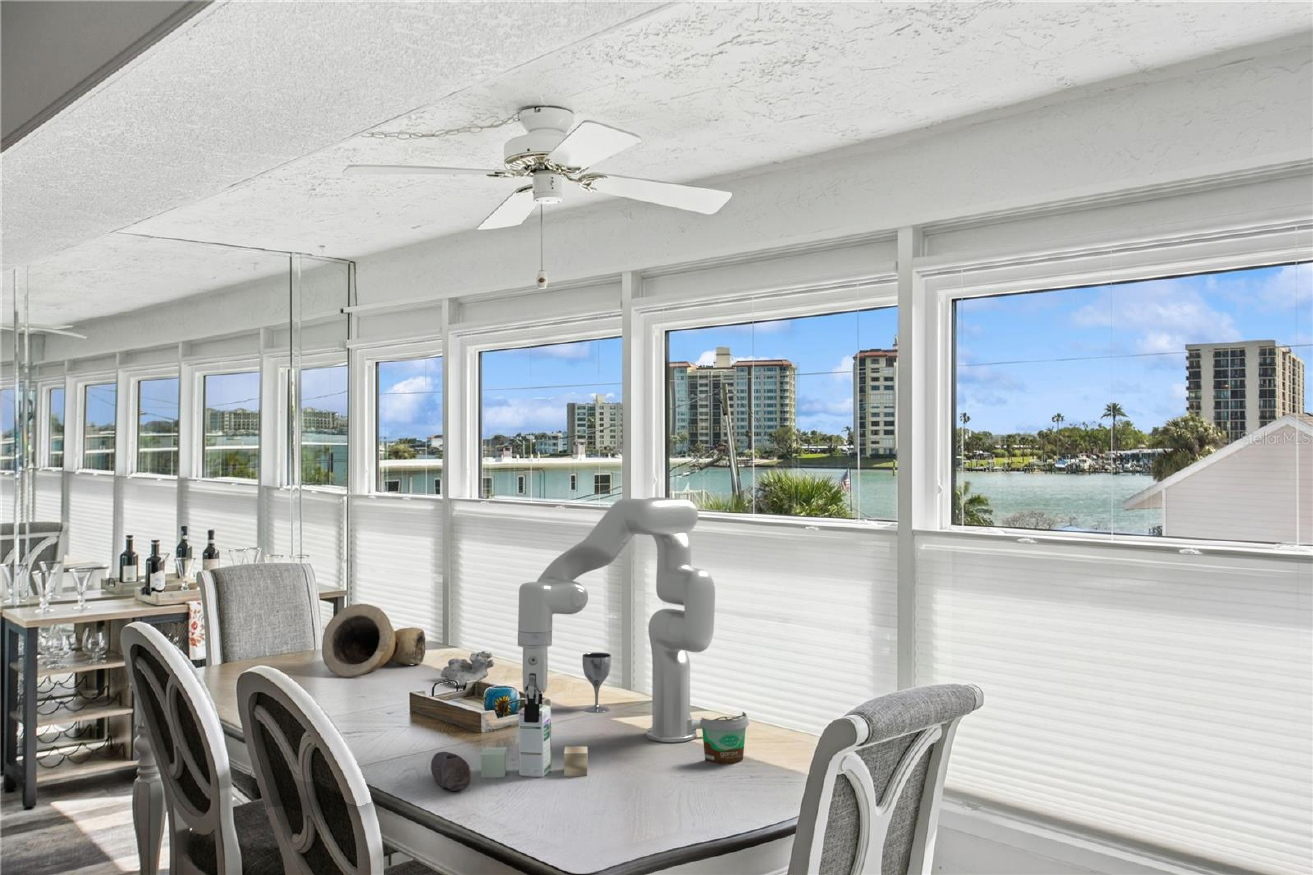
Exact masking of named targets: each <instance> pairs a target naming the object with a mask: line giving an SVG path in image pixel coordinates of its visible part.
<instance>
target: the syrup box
mask: <svg viewBox="0 0 1313 875" xmlns="http://www.w3.org/2000/svg"><path fill="white" fill-rule="evenodd" d="M551 709H552V707H551V705H550V704H545V703H544V704H543V703H542V704H539V722H538V723H525V722H524V707H522V708H520V709H519V710H518V768H519V769H518V771H519V772H518V774H519V776H522V777H527V778H528V777H531V778H544V777H545V775H547V774H548V773H549V772H550V771H551V770H552V717H551V716H552V712H551Z"/></svg>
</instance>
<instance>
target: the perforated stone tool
mask: <svg viewBox="0 0 1313 875" xmlns="http://www.w3.org/2000/svg"><path fill="white" fill-rule="evenodd" d="M430 768H431V774H432V777H433V778H434V780H435V781H436V782H437V783H438V784H439V785H440V786H441V787H442V788H444V789H448V790H449V791H450V792H451V791H452V792H457V791H462V790H465V789H467V788H468V787H469V785H470V784H471V779H472V776H471V775H472V773H471V772H472V771H471V768H470V765H469V764H468V762H467V761H466V760H465V759H464V758H463V757H462V756H460V755H458V754H455V753H453V752H449V751H439V752H437V753H435V754H434V755H433V757H432V759H431V761H430Z"/></svg>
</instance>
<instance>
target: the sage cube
mask: <svg viewBox="0 0 1313 875" xmlns="http://www.w3.org/2000/svg"><path fill="white" fill-rule="evenodd" d="M507 752H508V750H507V747H484V748H483V750H482V752H481V755H480V757H481V761H480V762H481V764H480V765H481V766H480V770H481V771H480V772H481V774H480V777H481V778H505V776H506V774H507V770H508V766H507V765H508V764H507V763H508V761H507V760H508V758H507V757H508V755H507V754H508V753H507Z"/></svg>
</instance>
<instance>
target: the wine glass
mask: <svg viewBox="0 0 1313 875" xmlns="http://www.w3.org/2000/svg"><path fill="white" fill-rule="evenodd" d="M611 665H612V654H611V653H608V652H602V651H601V652H599V651H597V652H596V651H593V652H587V653H584V654H582V670H583V674H584V676H585V678H586V679H587V681H589V683H590V684H591V685H592V687H593V690H594V699H595V700H594V702H595V703H594V705H591V706H587V707H584V708H583V710H584V712H587V713H595V714H599V713H600V714H601V713H606V712H608V711H610V708H609V707H608V706H605V705H603V706H602V705H600V704H599V692H600V688H601V686H602V685H603V683H604V682H605V681H606V679H607V678H608V676H609V674H610V671H611V667H612V666H611Z"/></svg>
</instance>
